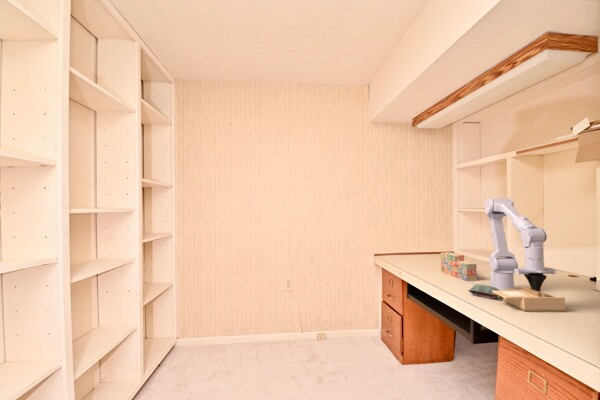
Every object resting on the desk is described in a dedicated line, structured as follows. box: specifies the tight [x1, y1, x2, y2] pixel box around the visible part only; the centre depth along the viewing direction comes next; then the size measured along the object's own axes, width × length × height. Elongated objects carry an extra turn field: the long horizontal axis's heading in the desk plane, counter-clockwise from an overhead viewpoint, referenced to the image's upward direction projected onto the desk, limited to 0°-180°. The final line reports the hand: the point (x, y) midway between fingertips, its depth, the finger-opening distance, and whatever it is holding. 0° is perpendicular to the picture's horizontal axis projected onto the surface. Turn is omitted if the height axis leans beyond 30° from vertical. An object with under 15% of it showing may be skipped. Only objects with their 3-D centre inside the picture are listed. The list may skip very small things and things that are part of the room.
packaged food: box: [467, 283, 500, 299], centre depth 120 cm, size 9×12×5 cm
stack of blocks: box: [440, 251, 478, 282], centre depth 154 cm, size 21×6×12 cm, turn 7°
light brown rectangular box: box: [503, 288, 566, 313], centre depth 107 cm, size 11×15×5 cm
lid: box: [492, 286, 544, 299], centre depth 107 cm, size 8×15×2 cm, turn 87°
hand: (535, 292), depth 107 cm, fingers closed
